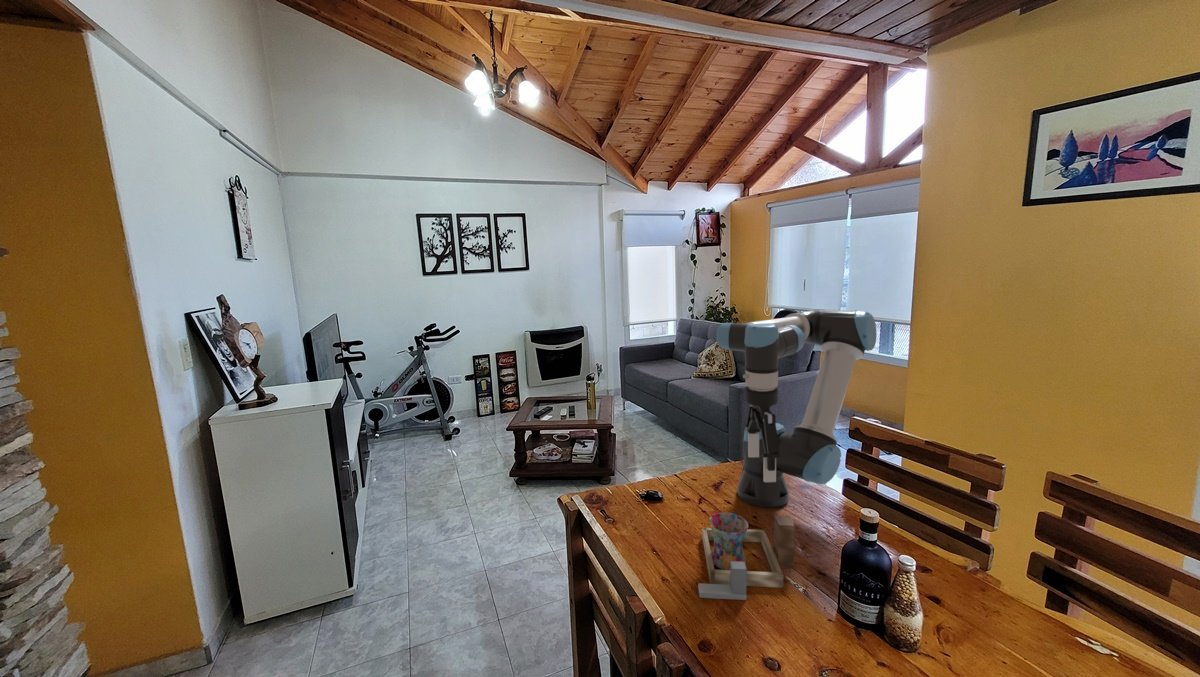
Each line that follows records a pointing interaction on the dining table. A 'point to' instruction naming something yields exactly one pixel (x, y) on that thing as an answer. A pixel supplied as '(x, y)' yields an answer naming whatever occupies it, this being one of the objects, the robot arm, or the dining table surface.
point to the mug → (727, 539)
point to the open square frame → (776, 558)
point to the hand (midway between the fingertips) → (761, 468)
